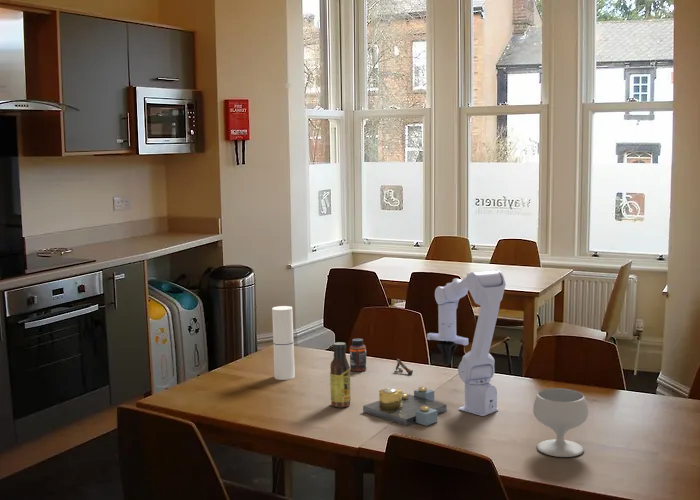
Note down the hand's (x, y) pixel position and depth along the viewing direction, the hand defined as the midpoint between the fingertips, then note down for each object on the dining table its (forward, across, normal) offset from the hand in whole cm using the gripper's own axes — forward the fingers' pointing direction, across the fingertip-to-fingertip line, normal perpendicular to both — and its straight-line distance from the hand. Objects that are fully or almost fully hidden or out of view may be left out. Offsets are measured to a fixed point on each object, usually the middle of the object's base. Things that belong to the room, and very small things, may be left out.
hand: (447, 363), depth 262 cm
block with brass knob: (+10, +10, -28) cm, 31 cm away
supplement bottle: (+10, -42, +6) cm, 43 cm away
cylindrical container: (+10, -58, -16) cm, 61 cm away
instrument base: (+10, -1, -23) cm, 25 cm away
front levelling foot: (+10, -2, -12) cm, 15 cm away
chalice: (+10, +50, -25) cm, 57 cm away
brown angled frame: (+10, -26, +12) cm, 30 cm away
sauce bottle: (+10, -21, -30) cm, 38 cm away
